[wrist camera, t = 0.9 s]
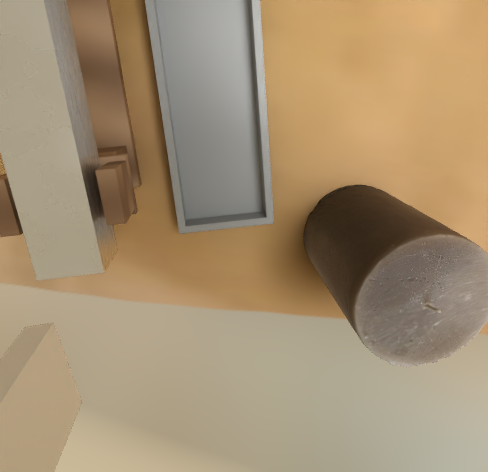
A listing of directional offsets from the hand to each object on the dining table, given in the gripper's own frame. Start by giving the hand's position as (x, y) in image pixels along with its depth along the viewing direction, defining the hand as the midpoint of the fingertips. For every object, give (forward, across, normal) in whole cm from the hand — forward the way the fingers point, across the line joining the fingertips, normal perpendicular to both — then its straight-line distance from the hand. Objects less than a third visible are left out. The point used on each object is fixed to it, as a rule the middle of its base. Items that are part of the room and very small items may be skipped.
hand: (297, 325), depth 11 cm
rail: (+15, -10, +10) cm, 20 cm away
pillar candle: (+26, +10, -8) cm, 29 cm away
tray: (+26, -1, +9) cm, 27 cm away
